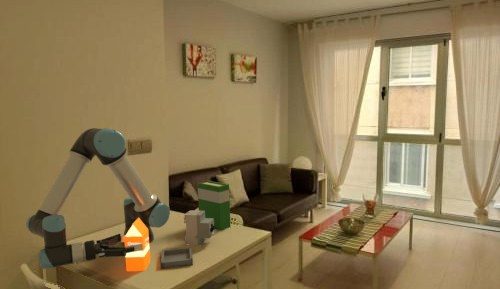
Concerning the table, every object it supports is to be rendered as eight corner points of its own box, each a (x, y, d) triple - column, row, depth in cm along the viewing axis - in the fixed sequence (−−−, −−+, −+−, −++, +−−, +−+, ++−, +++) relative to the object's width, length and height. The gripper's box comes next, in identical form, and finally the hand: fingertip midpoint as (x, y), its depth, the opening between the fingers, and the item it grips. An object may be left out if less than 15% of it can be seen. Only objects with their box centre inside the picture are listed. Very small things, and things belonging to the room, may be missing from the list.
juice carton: (126, 271, 151) (122, 224, 149) (132, 262, 160) (129, 217, 157) (145, 270, 151) (142, 223, 149) (150, 261, 160) (148, 217, 157)
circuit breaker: (213, 246, 175) (212, 215, 173) (185, 244, 178) (183, 214, 176) (217, 240, 182) (216, 211, 181) (190, 239, 185) (189, 210, 184)
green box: (199, 224, 208) (197, 182, 206) (209, 221, 214) (207, 180, 211) (220, 230, 197) (219, 186, 194) (230, 227, 202) (228, 184, 200)
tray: (162, 255, 166) (162, 250, 166) (191, 252, 168) (191, 247, 168) (161, 268, 152) (161, 262, 152) (192, 265, 155) (192, 259, 154)
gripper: (83, 249, 156) (135, 240, 166) (86, 272, 134) (145, 260, 143) (82, 232, 156) (134, 224, 165) (85, 253, 133) (144, 242, 143)
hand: (139, 241), depth 154 cm, fingers open, 13 cm apart
